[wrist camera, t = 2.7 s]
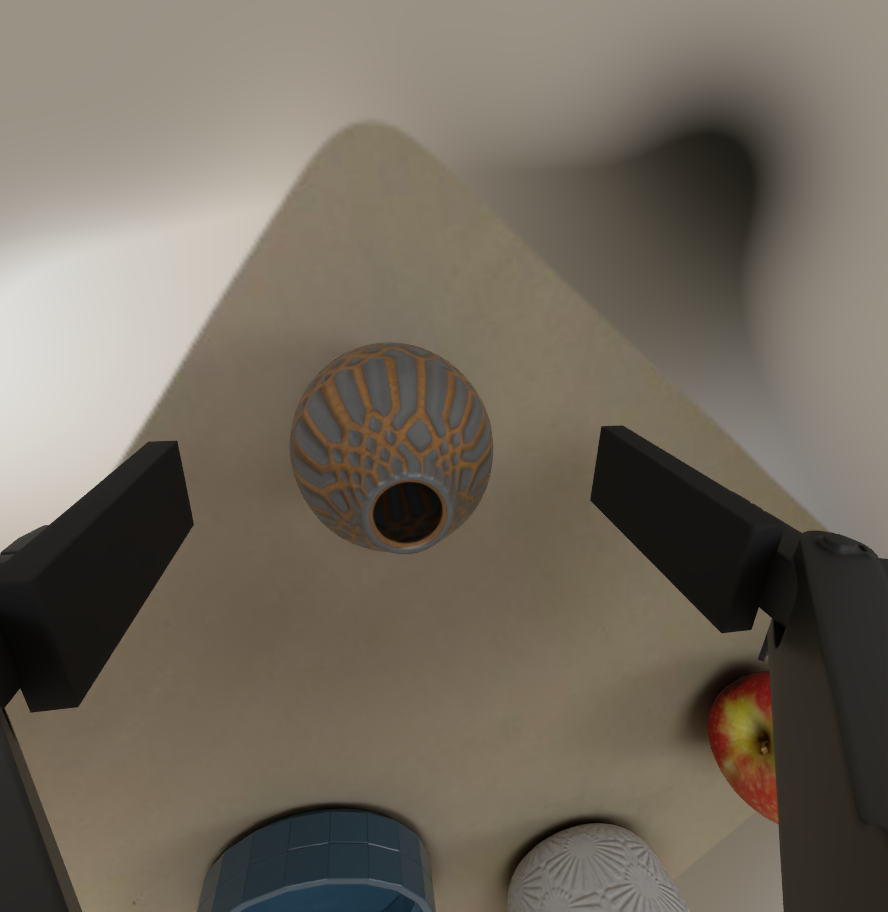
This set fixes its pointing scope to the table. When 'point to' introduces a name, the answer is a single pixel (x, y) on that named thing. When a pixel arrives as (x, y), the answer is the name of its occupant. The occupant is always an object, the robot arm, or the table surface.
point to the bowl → (323, 867)
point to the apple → (746, 741)
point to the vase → (391, 447)
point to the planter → (593, 874)
